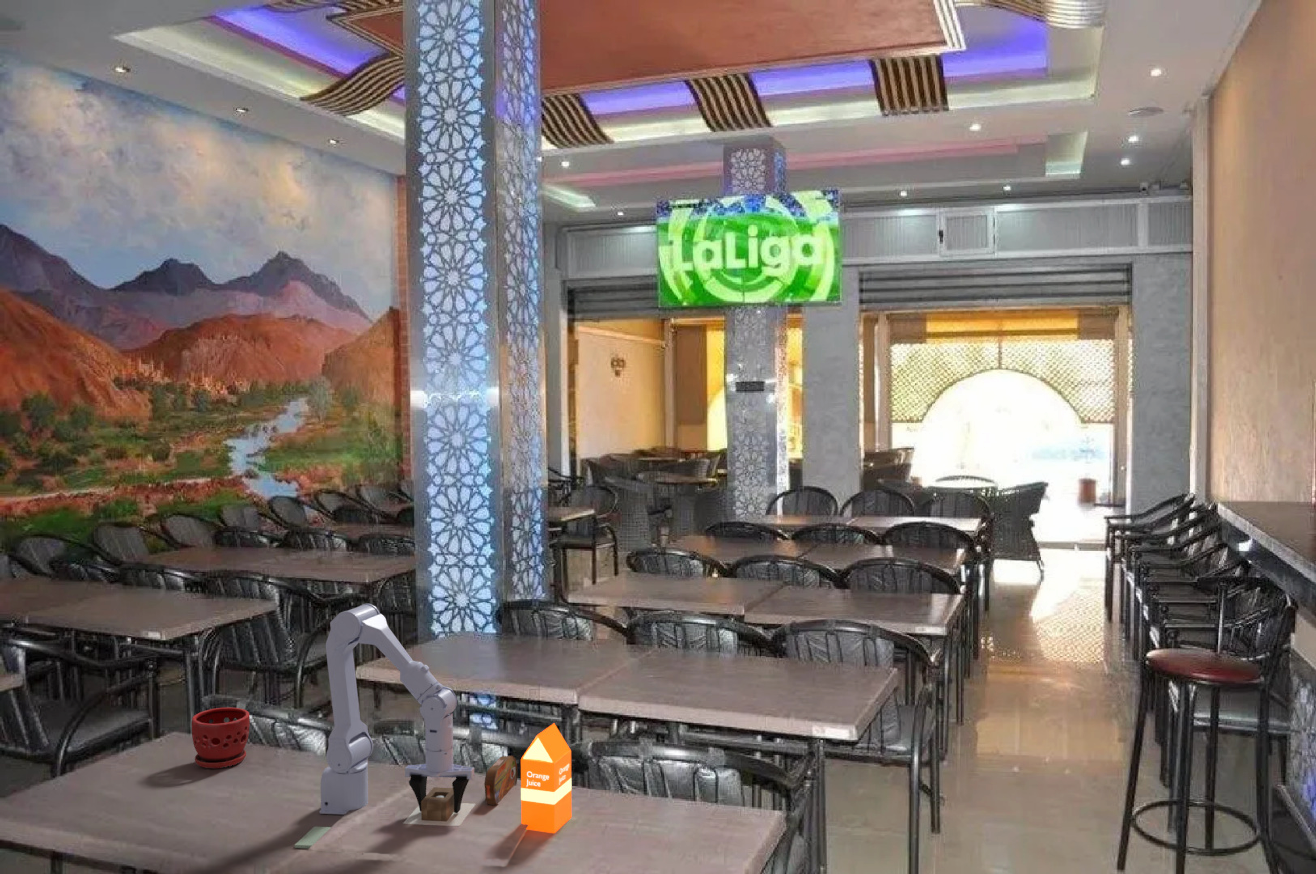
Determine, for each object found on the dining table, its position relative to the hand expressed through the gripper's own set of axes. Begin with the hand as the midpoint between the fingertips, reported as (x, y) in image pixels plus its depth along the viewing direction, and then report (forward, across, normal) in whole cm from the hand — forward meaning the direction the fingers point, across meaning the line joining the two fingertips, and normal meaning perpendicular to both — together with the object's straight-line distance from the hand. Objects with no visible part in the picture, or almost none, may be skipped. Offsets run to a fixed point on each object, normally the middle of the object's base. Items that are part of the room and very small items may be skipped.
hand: (440, 810), depth 225 cm
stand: (+2, 0, 0) cm, 2 cm away
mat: (+2, -15, -13) cm, 20 cm away
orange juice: (+2, +23, 0) cm, 23 cm away
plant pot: (+2, -64, +27) cm, 69 cm away
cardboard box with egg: (+1, 0, 0) cm, 1 cm away
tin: (+2, +10, +12) cm, 16 cm away
